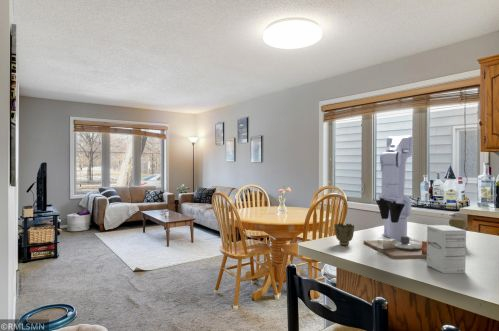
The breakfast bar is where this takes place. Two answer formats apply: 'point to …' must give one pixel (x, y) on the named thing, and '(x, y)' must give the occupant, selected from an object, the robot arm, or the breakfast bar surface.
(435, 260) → the supplement box
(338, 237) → the cup
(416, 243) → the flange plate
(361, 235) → the breakfast bar surface
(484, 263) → the breakfast bar surface
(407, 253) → the board
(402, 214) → the robot arm
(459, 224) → the cork
